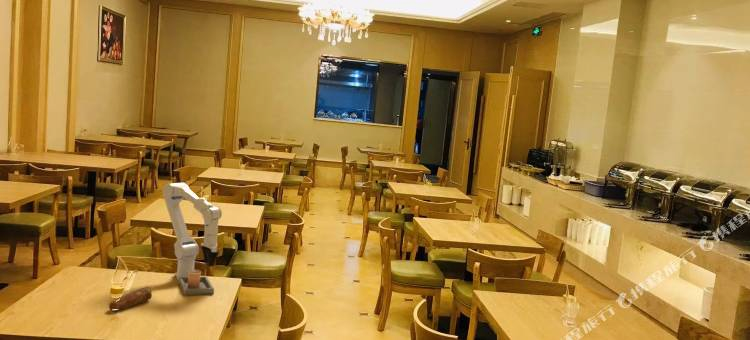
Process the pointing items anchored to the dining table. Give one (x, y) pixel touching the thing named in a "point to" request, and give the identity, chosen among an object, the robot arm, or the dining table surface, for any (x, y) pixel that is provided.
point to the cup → (194, 279)
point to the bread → (132, 298)
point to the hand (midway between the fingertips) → (209, 263)
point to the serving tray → (203, 289)
